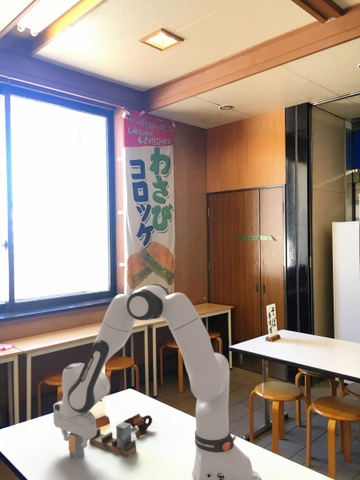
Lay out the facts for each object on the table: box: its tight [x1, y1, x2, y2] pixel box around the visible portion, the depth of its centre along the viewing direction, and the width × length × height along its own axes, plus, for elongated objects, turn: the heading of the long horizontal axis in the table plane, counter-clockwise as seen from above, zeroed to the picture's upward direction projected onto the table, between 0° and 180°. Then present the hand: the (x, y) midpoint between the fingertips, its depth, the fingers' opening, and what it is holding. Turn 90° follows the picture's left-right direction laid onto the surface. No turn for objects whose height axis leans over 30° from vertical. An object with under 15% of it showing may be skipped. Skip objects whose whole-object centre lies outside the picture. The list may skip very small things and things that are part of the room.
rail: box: [88, 421, 137, 458], centre depth 155 cm, size 20×5×10 cm, turn 56°
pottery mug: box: [123, 413, 153, 439], centre depth 168 cm, size 12×10×8 cm
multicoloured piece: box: [68, 432, 85, 458], centre depth 151 cm, size 4×4×8 cm
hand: (75, 443), depth 151 cm, fingers open, 8 cm apart
